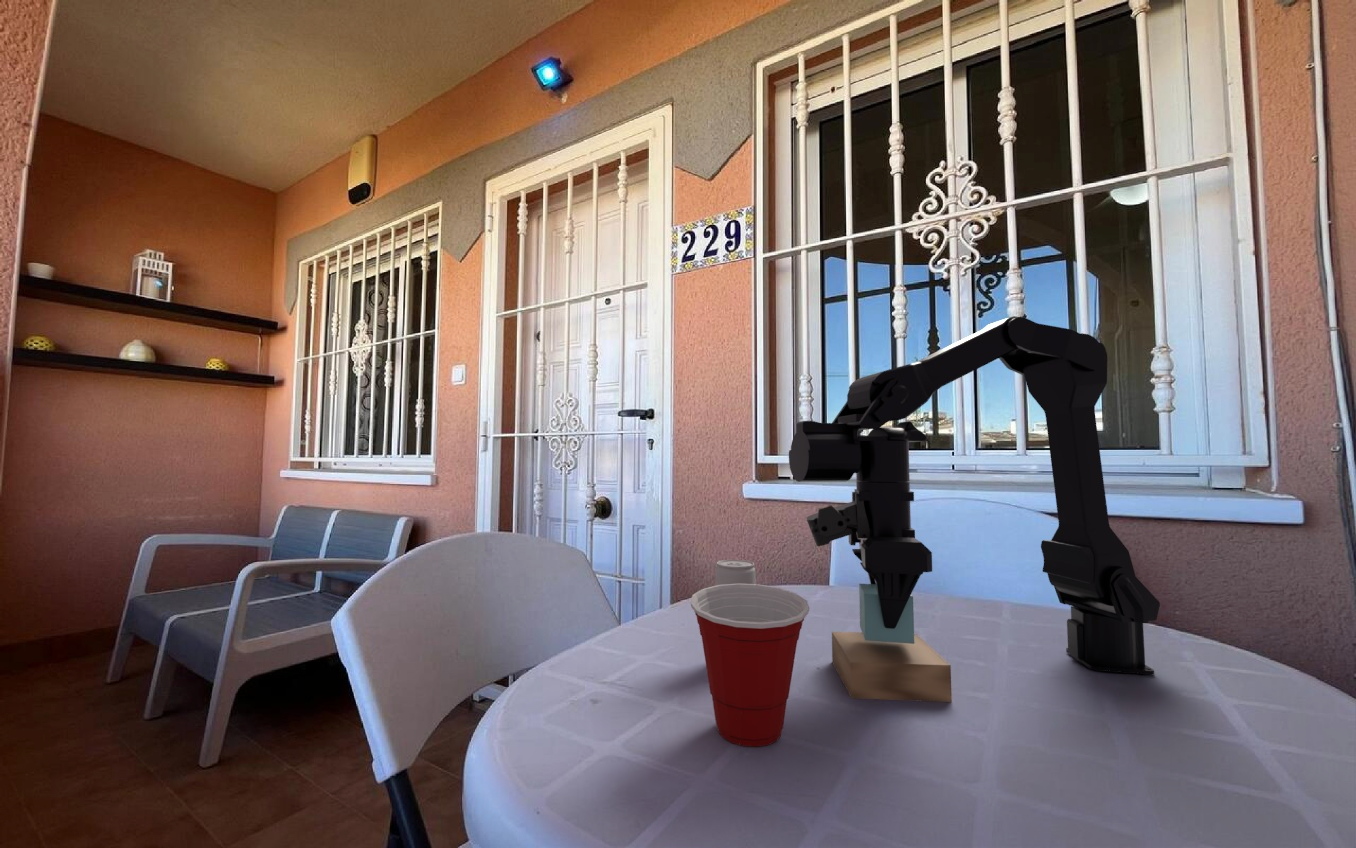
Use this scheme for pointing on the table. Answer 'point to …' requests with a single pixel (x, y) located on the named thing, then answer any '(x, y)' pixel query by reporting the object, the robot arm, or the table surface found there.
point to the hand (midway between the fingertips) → (885, 620)
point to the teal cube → (874, 622)
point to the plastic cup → (749, 656)
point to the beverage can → (735, 572)
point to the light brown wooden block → (890, 669)
